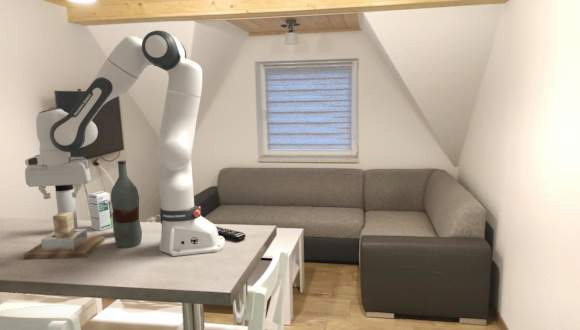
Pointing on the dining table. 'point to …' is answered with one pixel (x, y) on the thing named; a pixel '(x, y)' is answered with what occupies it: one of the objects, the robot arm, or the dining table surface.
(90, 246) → the walnut base
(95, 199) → the syrup box
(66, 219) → the birch pin
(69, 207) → the travel mug
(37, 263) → the dining table surface
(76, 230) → the steel collar
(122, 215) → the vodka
